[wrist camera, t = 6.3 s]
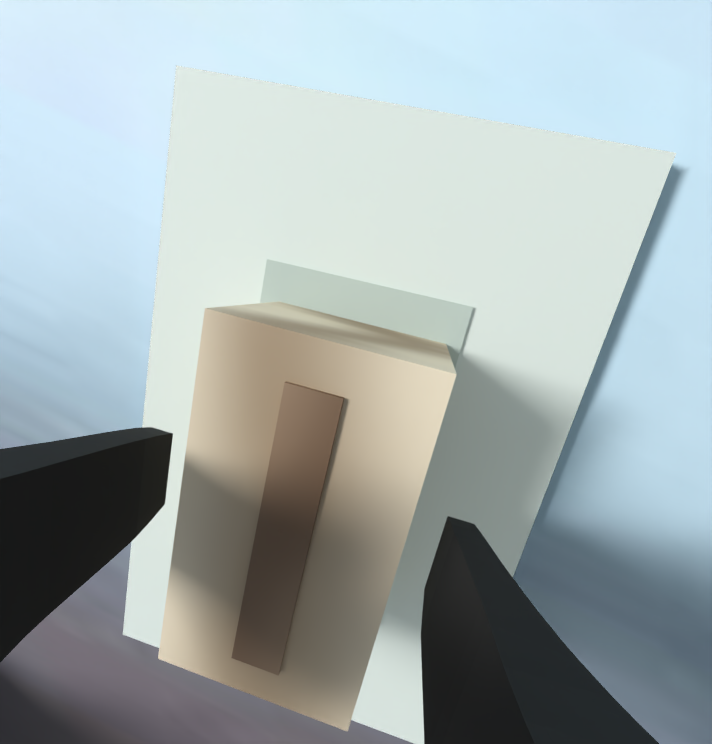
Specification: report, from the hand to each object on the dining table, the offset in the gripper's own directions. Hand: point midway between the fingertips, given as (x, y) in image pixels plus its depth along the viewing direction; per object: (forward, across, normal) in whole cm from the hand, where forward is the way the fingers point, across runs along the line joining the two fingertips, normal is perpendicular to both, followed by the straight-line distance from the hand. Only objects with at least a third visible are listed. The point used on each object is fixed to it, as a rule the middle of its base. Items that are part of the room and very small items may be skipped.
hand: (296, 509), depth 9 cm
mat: (+4, 0, 0) cm, 4 cm away
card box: (+3, 0, 0) cm, 3 cm away
